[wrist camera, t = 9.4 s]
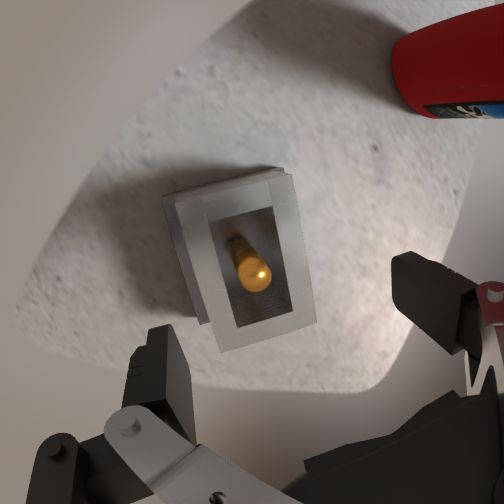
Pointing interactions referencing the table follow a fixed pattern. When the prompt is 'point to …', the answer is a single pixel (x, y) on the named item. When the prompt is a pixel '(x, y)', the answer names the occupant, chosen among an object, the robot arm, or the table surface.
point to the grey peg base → (226, 251)
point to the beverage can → (454, 66)
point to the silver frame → (279, 251)
